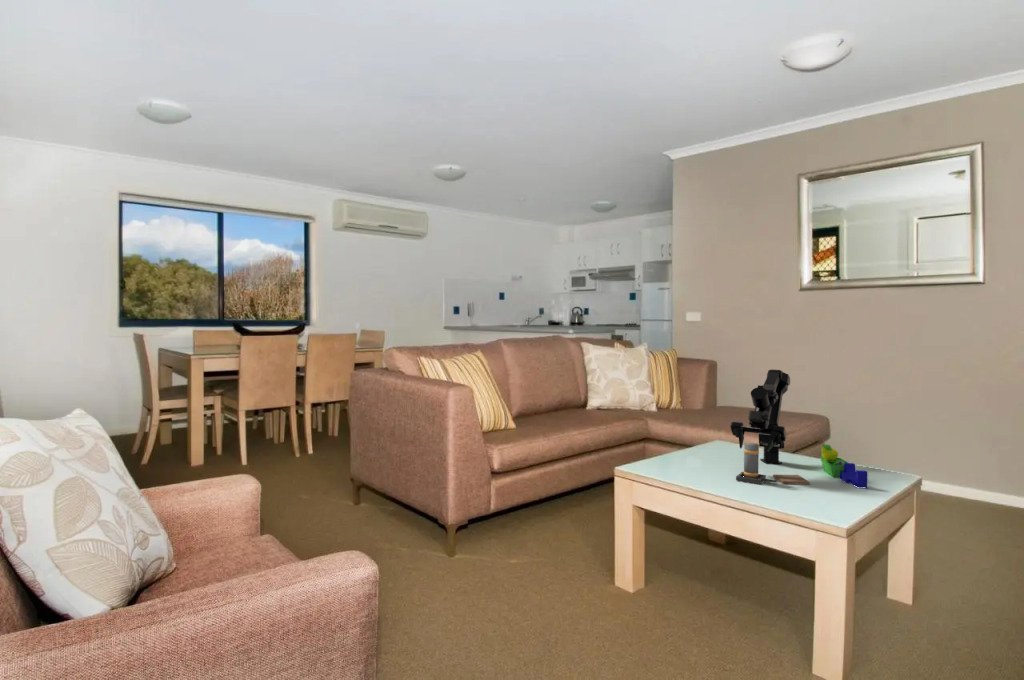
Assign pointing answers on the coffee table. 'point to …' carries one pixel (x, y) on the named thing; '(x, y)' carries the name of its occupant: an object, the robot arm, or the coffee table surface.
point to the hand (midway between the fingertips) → (753, 449)
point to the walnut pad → (791, 479)
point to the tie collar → (752, 480)
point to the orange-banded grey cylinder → (751, 460)
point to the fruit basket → (831, 461)
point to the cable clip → (854, 475)
